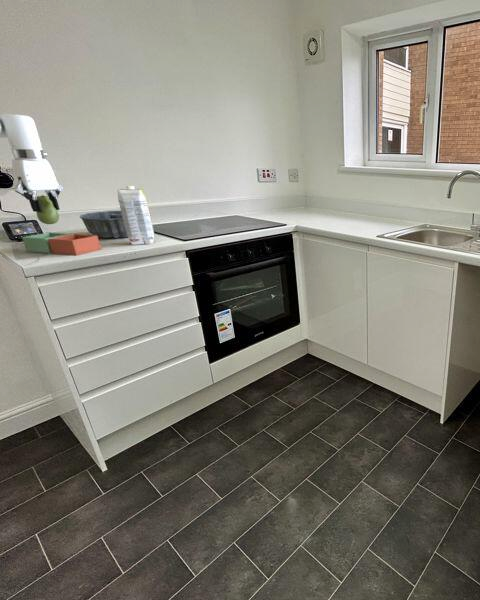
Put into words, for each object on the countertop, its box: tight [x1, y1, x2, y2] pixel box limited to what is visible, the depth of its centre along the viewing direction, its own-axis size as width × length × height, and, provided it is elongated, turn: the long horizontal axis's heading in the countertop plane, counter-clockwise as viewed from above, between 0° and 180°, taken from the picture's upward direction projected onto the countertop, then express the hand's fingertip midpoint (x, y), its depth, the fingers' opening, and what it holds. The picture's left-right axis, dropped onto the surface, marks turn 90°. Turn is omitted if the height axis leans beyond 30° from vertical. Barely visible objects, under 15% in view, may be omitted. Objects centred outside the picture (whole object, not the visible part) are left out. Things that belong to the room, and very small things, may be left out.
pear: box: [35, 195, 60, 225], centre depth 124 cm, size 6×5×10 cm
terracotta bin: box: [49, 233, 102, 256], centre depth 137 cm, size 10×10×6 cm
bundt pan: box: [79, 210, 128, 239], centre depth 166 cm, size 26×26×10 cm
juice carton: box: [117, 185, 155, 246], centre depth 150 cm, size 9×8×24 cm
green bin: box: [21, 231, 73, 254], centre depth 139 cm, size 10×10×6 cm
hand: (46, 210), depth 124 cm, fingers closed on pear, 4 cm apart
